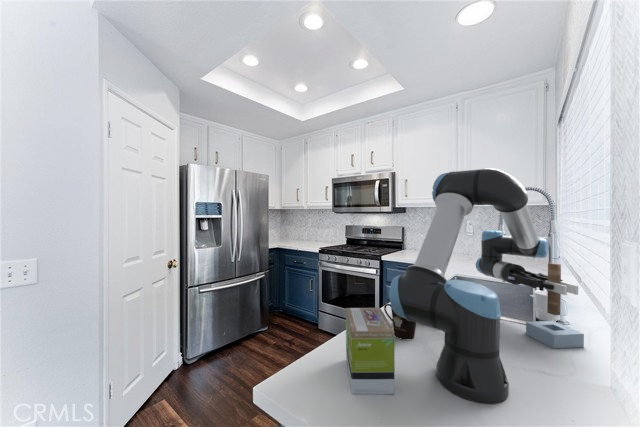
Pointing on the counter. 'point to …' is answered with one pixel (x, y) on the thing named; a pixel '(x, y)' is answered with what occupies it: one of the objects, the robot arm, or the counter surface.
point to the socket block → (555, 334)
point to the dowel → (552, 297)
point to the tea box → (370, 351)
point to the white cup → (542, 306)
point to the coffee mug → (401, 325)
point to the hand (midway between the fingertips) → (571, 290)
